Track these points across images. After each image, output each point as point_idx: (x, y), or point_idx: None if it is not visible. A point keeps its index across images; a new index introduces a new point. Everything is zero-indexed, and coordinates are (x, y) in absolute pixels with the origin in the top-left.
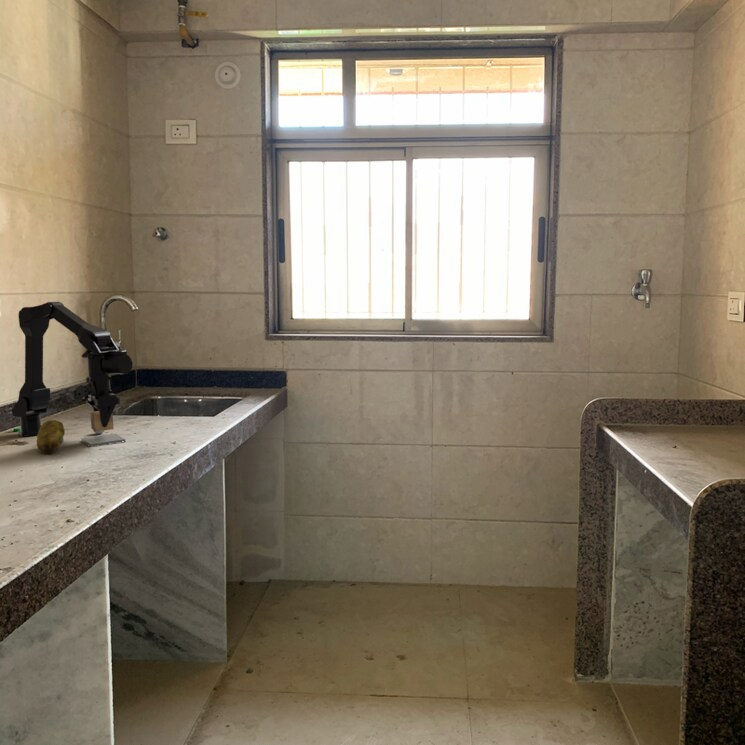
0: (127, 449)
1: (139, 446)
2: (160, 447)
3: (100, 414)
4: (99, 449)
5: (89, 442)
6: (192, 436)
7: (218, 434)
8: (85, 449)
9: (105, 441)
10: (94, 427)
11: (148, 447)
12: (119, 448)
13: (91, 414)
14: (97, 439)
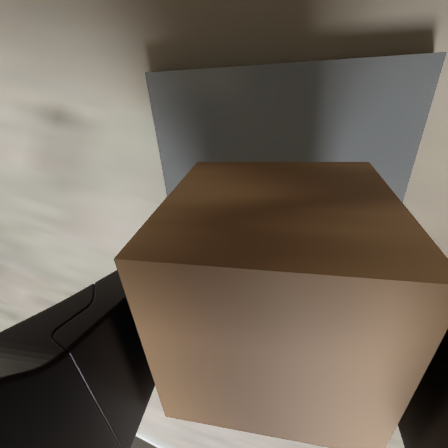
0: (23, 223)
1: (68, 274)
2: (31, 311)
3: (58, 304)
4: (56, 110)
5: (201, 82)
6: (160, 414)
7: (153, 445)
8: (83, 20)
9: (176, 184)
10: (233, 172)
11: (41, 288)
12: (52, 203)
13: (367, 253)
14: (274, 160)
